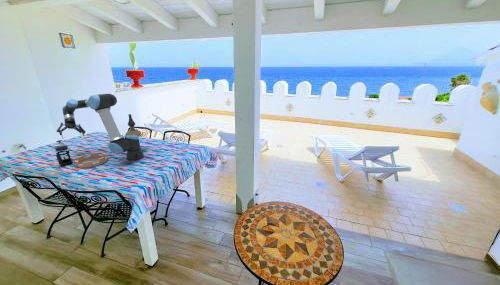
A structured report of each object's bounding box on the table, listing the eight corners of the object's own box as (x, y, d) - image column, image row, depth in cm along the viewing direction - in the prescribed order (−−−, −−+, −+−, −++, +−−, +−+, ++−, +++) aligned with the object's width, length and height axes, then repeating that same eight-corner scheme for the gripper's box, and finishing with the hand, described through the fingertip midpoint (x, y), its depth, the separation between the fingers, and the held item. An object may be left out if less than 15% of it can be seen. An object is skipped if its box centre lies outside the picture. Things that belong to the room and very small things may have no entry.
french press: (65, 161, 191) (58, 138, 184) (76, 161, 192) (69, 138, 184) (55, 167, 180) (47, 143, 172) (66, 167, 181) (58, 143, 173)
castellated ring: (113, 158, 200) (111, 153, 198) (93, 169, 178) (91, 163, 176) (91, 156, 203) (90, 151, 201) (69, 167, 181) (67, 161, 179)
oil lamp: (125, 152, 214) (117, 115, 201) (135, 147, 228) (128, 112, 214) (137, 153, 212) (131, 116, 198) (147, 148, 226) (141, 113, 212)
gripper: (84, 124, 202) (88, 141, 195) (50, 120, 181) (53, 140, 174) (87, 119, 199) (91, 137, 191) (52, 115, 178) (55, 135, 171)
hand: (73, 138), depth 183 cm, fingers open, 13 cm apart
